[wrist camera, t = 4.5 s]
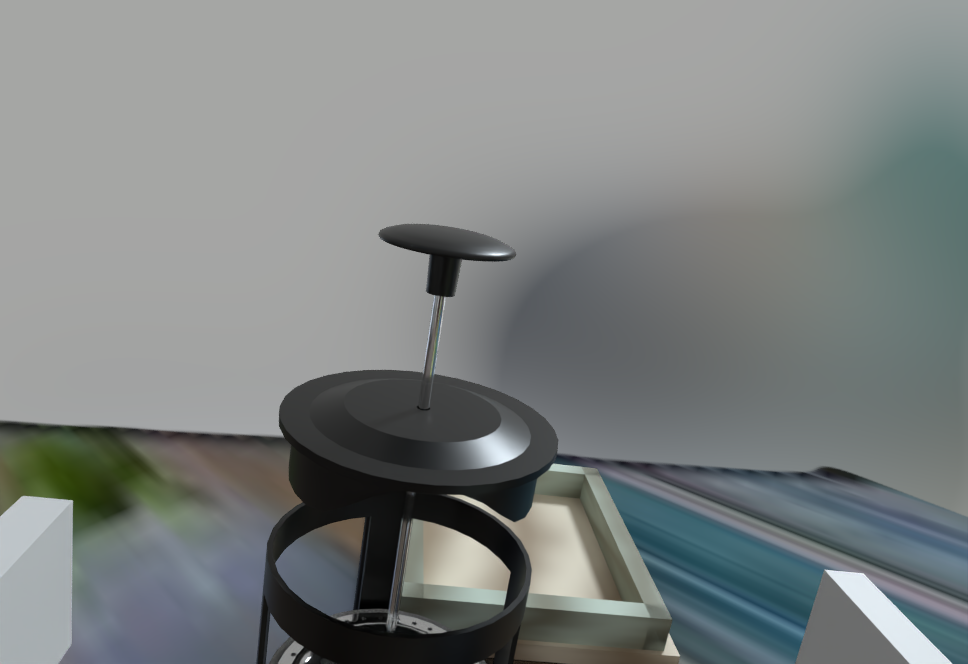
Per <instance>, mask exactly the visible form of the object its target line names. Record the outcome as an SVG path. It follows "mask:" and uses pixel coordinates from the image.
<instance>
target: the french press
mask: <svg viewBox="0 0 968 664" xmlns="http://www.w3.org/2000/svg"><path fill="white" fill-rule="evenodd" d="M379 237H380V238H381V239H382V240H383V241H385V242H387V243H389V244H392V245H395V246H398V247H401V248H404V249H408V250H412V251H416V252H421V253H425V254H430V258H429V268H428V278H427V288H426V291H427V293H429V294H432V295H434V301H433V308H432V315H431V321H430V329H429V335H428V342H427V349H426V356H425V363H424V370H423V373H420V372H413V371H397V370H363V371H352V372H343V373H338V374H332V375H327V376H323V377H320V378H317V379H314V380H310V381H308V382H306V383H304V384H302V385H300V386H298V387H296V388H294V389H293V390H292V391H291V392H290V393H289V394H287V395H286V396H285V398H284V400H283V401H282V403H281V405H280V410H279V427H280V429H281V431H282V433H283V435H284V437H285V439H286V440H287V441H288V442H289V443H290V444H291V450H290V460H289V481H290V483H291V486H292V488H293V490H294V492H295V494H296V495H297V496H298V497H299V498H300V499H301V500H302V501H303V503H301V504H299V505H297V506H296V507H294V508H293V509H292V510H290V511H289V512H288V513H286V514H285V515H284V516H283V517H282V518H281V519H280V520H279V522H278V523H277V524H276V525H275V527H274V528H273V530H272V532H271V535H270V537H269V540H268V543H267V552H266V563H265V574H264V585H263V596H262V607H261V618H260V629H259V640H258V651H257V662H256V664H266V653H267V643H268V632H269V622H270V613H271V614H272V616H273V617H274V619H275V620H276V622H277V623H278V625H279V626H280V627H281V628H282V629H283V630H284V631H285V632H286V633H287V634H288V635H289V636H290V637H289V638H288V639H287V640H286V641H285V643H284V644H283V645H282V646H281V647H280V648H279V649H278V650H277V651H276V653H275V654H274V656H273V658H272V659H271V661H270V663H269V664H486V662H485V659H487V658H488V657H490V656H491V655H493V654H494V653H495V656H494V661H493V664H513V661H514V656H515V651H516V646H517V641H518V636H519V631H520V626H521V622H522V620H523V618H524V613H525V608H526V603H527V598H528V593H529V588H530V582H531V574H532V567H531V563H530V558H529V555H528V553H527V551H526V549H525V547H524V545H523V544H522V542H521V540H520V539H519V538H518V537H517V536H516V535H515V534H514V532H513V531H512V530H511V529H510V528H509V527H508V526H506V525H505V524H504V523H503V522H501V521H500V520H499V519H498V518H496V517H495V516H493V515H492V514H490V513H488V512H486V511H485V510H483V509H481V508H480V507H478V506H475V505H473V504H471V503H469V502H466V501H464V500H462V499H459V498H456V497H453V496H450V495H464V496H467V497H469V498H472V499H474V500H477V501H479V502H482V503H484V504H485V505H487V506H488V507H489V508H491V509H492V510H494V511H495V512H497V513H498V514H500V515H501V516H503V517H505V518H507V519H509V520H511V521H513V522H517V521H519V520H521V519H523V518H525V517H526V516H527V514H528V512H529V511H530V509H531V507H532V503H533V498H534V493H535V488H536V483H537V478H539V477H540V476H541V475H543V474H544V473H545V472H546V471H548V470H549V469H550V467H551V466H552V464H553V462H554V461H555V459H556V455H557V449H558V439H557V436H556V433H555V431H554V429H553V428H552V426H551V425H550V424H549V423H548V421H547V420H546V419H545V418H544V417H542V416H541V415H540V414H539V413H538V412H536V411H535V410H533V409H532V408H531V407H529V406H527V405H526V404H524V403H522V402H520V401H519V400H517V399H515V398H513V397H510V396H508V395H506V394H504V393H501V392H499V391H496V390H494V389H491V388H488V387H485V386H482V385H479V384H475V383H472V382H468V381H464V380H460V379H456V378H451V377H445V376H441V375H436V374H434V373H435V366H436V359H437V353H438V346H439V339H440V332H441V326H442V319H443V313H444V306H445V299H446V297H453V296H455V292H456V287H457V282H458V277H459V272H460V267H461V262H462V259H463V260H473V261H507V260H511V259H514V257H515V256H516V252H515V250H514V249H513V248H511V247H510V246H508V245H507V244H505V243H503V242H501V241H499V240H497V239H494V238H492V237H489V236H487V235H484V234H480V233H477V232H473V231H469V230H464V229H459V228H453V227H447V226H439V225H429V224H403V225H396V226H391V227H387V228H384V229H382V230H380V232H379ZM361 517H365V525H364V532H363V540H362V548H361V555H360V563H359V571H358V578H357V586H356V594H355V601H354V609H353V611H347V612H341V613H337V614H334V615H331V616H328V615H326V614H324V613H323V612H321V611H319V610H317V609H316V608H314V607H312V606H310V605H309V604H307V603H305V602H304V601H303V600H302V599H301V598H300V597H298V596H297V595H296V594H295V593H294V592H293V591H291V590H290V589H289V588H288V586H287V585H286V583H285V582H284V581H283V579H282V578H281V576H280V575H279V574H278V571H277V568H276V565H275V562H276V561H277V559H278V558H279V556H280V555H281V554H282V552H283V551H284V550H285V549H286V548H287V547H288V546H289V545H290V544H292V543H293V542H294V541H295V540H296V539H298V538H299V537H301V536H303V535H305V534H306V533H308V532H310V531H312V530H314V529H316V528H319V527H322V526H324V525H327V524H330V523H333V522H338V521H342V520H347V519H351V518H361ZM413 519H417V520H422V521H426V522H431V523H435V524H438V525H441V526H444V527H447V528H450V529H453V530H455V531H458V532H460V533H462V534H464V535H466V536H469V537H471V538H472V539H474V540H476V541H477V542H479V543H480V544H482V545H484V546H485V547H487V548H488V549H489V550H490V551H491V552H493V553H494V554H495V555H496V556H497V557H498V558H500V559H501V561H502V562H503V563H504V564H505V566H506V567H507V568H508V569H509V571H510V572H511V573H510V578H509V583H508V588H507V594H506V599H505V604H504V609H503V611H502V612H500V613H499V614H497V615H495V616H494V617H492V618H491V619H489V620H487V621H484V622H481V623H479V624H476V625H473V626H471V627H468V628H464V629H459V630H452V629H450V628H448V627H446V626H444V625H442V624H441V623H439V622H437V621H434V620H431V619H429V618H426V617H423V616H420V615H417V614H413V613H408V612H404V611H400V605H401V598H402V592H403V585H404V578H405V572H406V565H407V558H408V552H409V545H410V538H411V532H412V525H413Z"/></svg>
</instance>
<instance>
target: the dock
mask: <svg viewBox="0 0 968 664" xmlns="http://www.w3.org/2000/svg"><path fill="white" fill-rule="evenodd" d="M450 496H453V497H456V498H459V499H462V500H464V501H466V502H469V503H471V504H473V505H475V506H478V507H480V508H481V509H483V510H485V511H486V512H488V513H490V514H492V515H493V516H495V517H496V518H498V519H499V520H500V521H501V522H503V523H504V524H505V525H506V526H508V527H509V528H510V529H511V530H512V531H513V532H514V534H515V535H516V536H517V537H518V538H519V539H520V540H521V542H522V544H523V545H524V547H525V549H526V551H527V553H528V555H529V558H530V563H531V567H532V574H531V582H530V588H529V593H528V598H527V603H526V608H525V613H524V618H523V620H522V622H521V626H520V631H519V636H518V641H517V646H516V651H515V656H514V660H527V661H539V662H552V663H565V664H678V662H679V658H680V655H679V653H678V651H677V649H676V647H675V645H674V643H673V641H672V639H671V637H670V635H669V630H670V627H671V623H672V618H671V616H670V614H669V612H668V610H667V608H666V606H665V604H664V602H663V600H662V598H661V596H660V594H659V592H658V590H657V588H656V586H655V584H654V582H653V580H652V578H651V576H650V574H649V572H648V570H647V568H646V566H645V564H644V562H643V560H642V558H641V556H640V554H639V552H638V550H637V548H636V546H635V544H634V542H633V540H632V538H631V536H630V534H629V532H628V530H627V528H626V526H625V524H624V522H623V520H622V518H621V516H620V514H619V512H618V510H617V508H616V506H615V504H614V502H613V500H612V498H611V496H610V494H609V492H608V490H607V488H606V486H605V484H604V482H603V480H602V478H601V476H600V474H599V472H598V470H597V469H595V468H586V467H577V466H568V465H559V464H552V466H551V467H550V469H549V470H548V471H546V472H545V473H544V474H543V475H541V476H540V477H539V478H537V483H536V488H535V493H534V498H533V503H532V507H531V509H530V511H529V512H528V514H527V516H526V517H525V518H523V519H521V520H519V521H517V522H513V521H511V520H509V519H507V518H505V517H503V516H501V515H500V514H498V513H497V512H495V511H494V510H492V509H491V508H489V507H488V506H487V505H485V504H484V503H482V502H479V501H477V500H474V499H472V498H469V497H467V496H464V495H450ZM510 573H511V572H510V571H509V569H508V568H507V567H506V566H505V564H504V563H503V562H502V561H501V559H500V558H498V557H497V556H496V555H495V554H494V553H493V552H491V551H490V550H489V549H488V548H487V547H485V546H484V545H482V544H480V543H479V542H477V541H476V540H474V539H472V538H471V537H469V536H466V535H464V534H462V533H460V532H458V531H455V530H453V529H450V528H447V527H444V526H441V525H438V524H435V523H431V522H426V521H422V520H417V519H413V525H412V532H411V538H410V545H409V552H408V558H407V565H406V572H405V578H404V585H403V592H402V598H401V605H400V611H404V612H408V613H413V614H417V615H420V616H423V617H426V618H429V619H431V620H434V621H437V622H439V623H441V624H442V625H444V626H446V627H448V628H450V629H452V630H459V629H464V628H468V627H471V626H473V625H476V624H479V623H481V622H484V621H487V620H489V619H491V618H492V617H494V616H495V615H497V614H499V613H500V612H502V611H503V609H504V604H505V599H506V594H507V588H508V583H509V578H510ZM494 656H495V653H494V654H493V655H491V656H490V657H488V658H494Z"/></svg>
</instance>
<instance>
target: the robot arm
mask: <svg viewBox="0 0 968 664" xmlns="http://www.w3.org/2000/svg"><path fill="white" fill-rule="evenodd" d="M72 532H73V500H62V499H51V498H40V497H29V496H22V497H21V498H20V499H19V500H18V501H17V502H16V503H15V504H13V505H12V506H11V507H10V508H9V509H8V510H7V511H6V512H5V513H4V514H3V515H2V516H0V664H58V663H59V662H60V660H61V659H62V657H63V656H64V655H65V653H66V652H67V650H68V649H69V647H70V646H71V642H72ZM795 664H952V663H951V662H950V661H949V660H948V659H947V658H946V657H945V656H944V655H943V654H942V653H941V652H940V651H939V650H938V649H937V648H936V647H935V646H934V645H933V644H932V643H931V642H930V641H929V640H928V639H927V638H926V637H925V636H924V635H923V634H922V633H921V632H920V631H919V630H918V629H917V628H916V627H915V626H914V625H913V624H912V623H911V622H910V621H909V620H908V618H907V617H906V616H905V615H904V614H903V613H902V612H901V611H900V610H899V609H898V608H897V607H896V606H895V605H894V604H893V603H892V602H891V601H890V600H889V599H888V598H887V597H886V596H885V595H884V594H883V593H882V592H881V591H880V590H879V589H878V588H877V587H876V586H875V585H874V584H873V583H872V582H871V581H870V580H869V579H868V578H867V577H866V576H865V575H864V574H863V573H853V572H842V571H831V570H824V573H823V576H822V579H821V583H820V586H819V589H818V592H817V595H816V599H815V602H814V605H813V608H812V612H811V615H810V618H809V621H808V624H807V628H806V631H805V634H804V637H803V641H802V644H801V647H800V650H799V653H798V657H797V660H796V663H795Z"/></svg>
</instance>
